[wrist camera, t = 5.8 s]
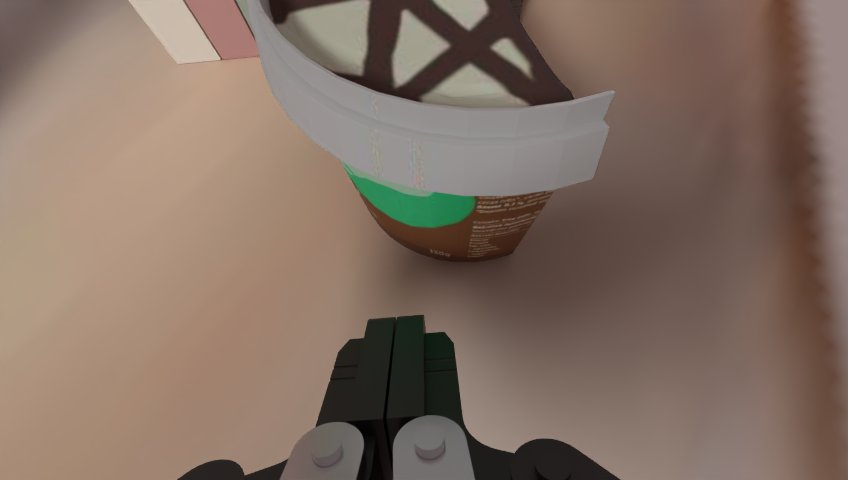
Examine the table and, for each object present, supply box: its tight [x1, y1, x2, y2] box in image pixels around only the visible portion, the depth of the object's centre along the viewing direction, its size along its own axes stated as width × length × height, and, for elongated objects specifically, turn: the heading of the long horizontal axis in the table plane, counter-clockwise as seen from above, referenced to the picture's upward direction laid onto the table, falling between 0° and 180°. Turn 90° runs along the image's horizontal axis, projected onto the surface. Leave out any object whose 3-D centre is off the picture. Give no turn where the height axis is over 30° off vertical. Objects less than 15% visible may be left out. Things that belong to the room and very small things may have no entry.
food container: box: [247, 0, 615, 262], centre depth 14 cm, size 12×6×10 cm, turn 20°
